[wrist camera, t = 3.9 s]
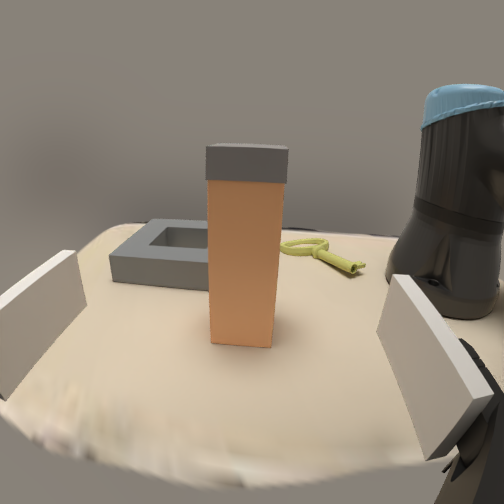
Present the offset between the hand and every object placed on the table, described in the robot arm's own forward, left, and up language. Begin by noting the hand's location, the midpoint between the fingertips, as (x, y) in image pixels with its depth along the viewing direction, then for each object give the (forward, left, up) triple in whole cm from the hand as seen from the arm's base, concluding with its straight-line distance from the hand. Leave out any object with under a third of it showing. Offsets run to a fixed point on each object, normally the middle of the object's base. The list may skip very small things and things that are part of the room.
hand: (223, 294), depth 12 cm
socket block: (+8, -22, -9) cm, 25 cm away
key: (-8, -26, -10) cm, 29 cm away
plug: (0, -10, -9) cm, 13 cm away
